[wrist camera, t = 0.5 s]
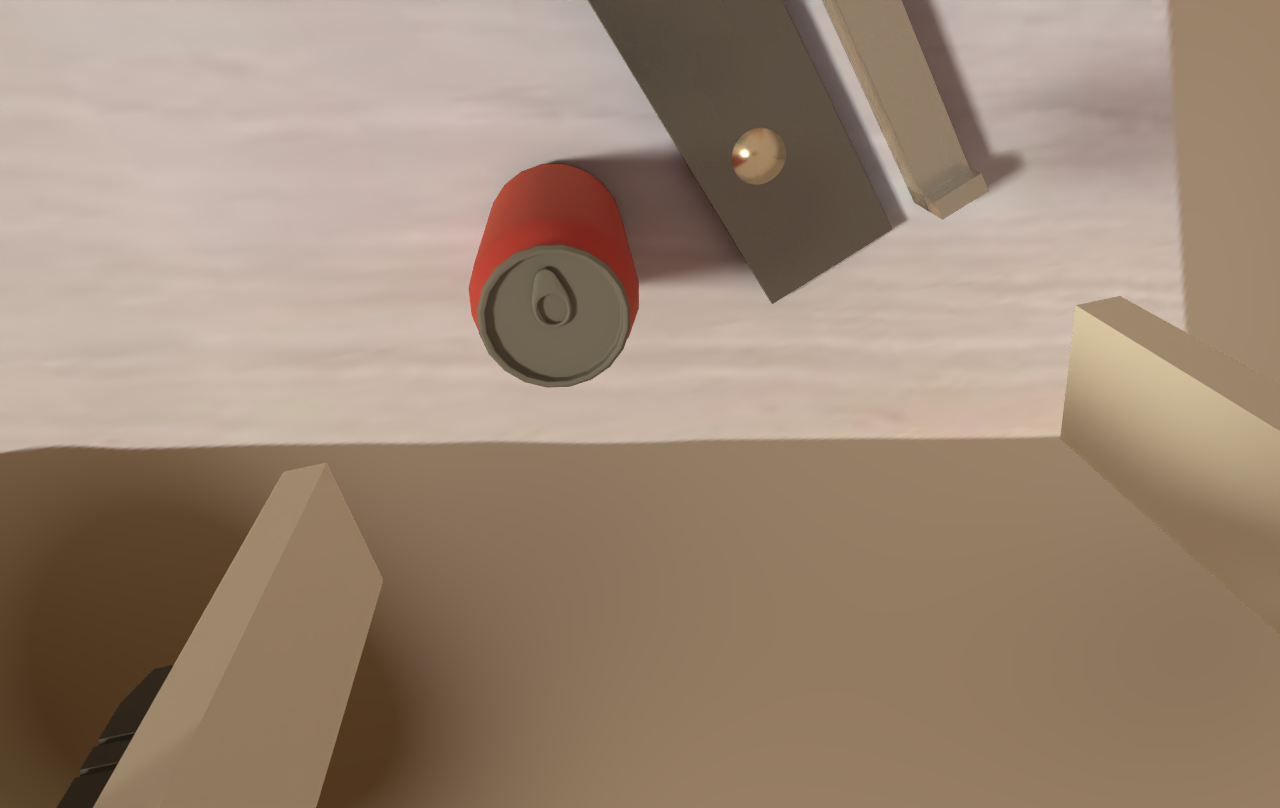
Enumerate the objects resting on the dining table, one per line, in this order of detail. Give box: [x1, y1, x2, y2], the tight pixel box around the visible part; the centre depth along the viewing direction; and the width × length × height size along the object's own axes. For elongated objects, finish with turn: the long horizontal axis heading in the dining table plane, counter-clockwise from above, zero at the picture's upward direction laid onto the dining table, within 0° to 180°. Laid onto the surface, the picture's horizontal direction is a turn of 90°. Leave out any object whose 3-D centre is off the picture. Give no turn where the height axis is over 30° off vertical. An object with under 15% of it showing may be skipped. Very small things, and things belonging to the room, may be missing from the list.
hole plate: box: [588, 0, 892, 304], centre depth 34 cm, size 24×7×1 cm, turn 33°
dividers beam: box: [822, 0, 989, 220], centre depth 32 cm, size 24×9×4 cm, turn 33°
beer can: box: [469, 164, 639, 387], centre depth 32 cm, size 7×7×12 cm
